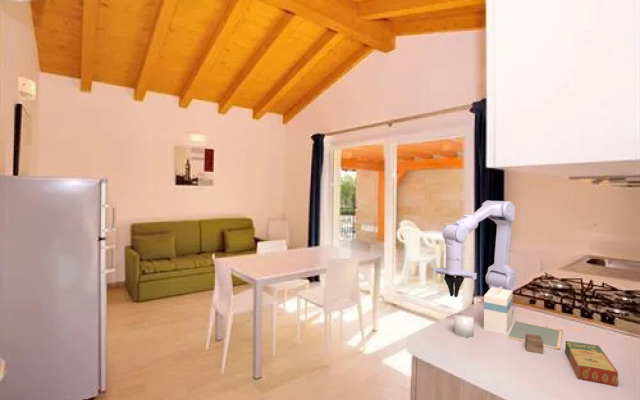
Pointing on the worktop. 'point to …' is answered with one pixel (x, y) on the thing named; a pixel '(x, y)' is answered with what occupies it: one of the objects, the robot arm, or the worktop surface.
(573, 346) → the carton
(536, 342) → the walnut block
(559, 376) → the worktop surface
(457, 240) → the robot arm
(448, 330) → the worktop surface
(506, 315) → the milk carton
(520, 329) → the display mat
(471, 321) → the white glossy dome
